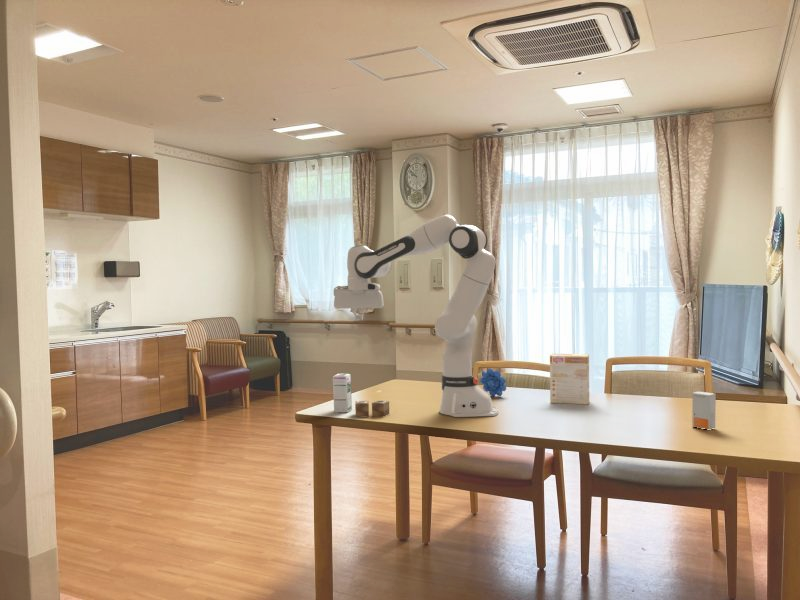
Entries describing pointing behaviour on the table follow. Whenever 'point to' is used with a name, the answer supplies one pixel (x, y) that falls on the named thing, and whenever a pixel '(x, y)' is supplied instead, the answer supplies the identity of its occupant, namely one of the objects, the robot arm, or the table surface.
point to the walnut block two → (380, 408)
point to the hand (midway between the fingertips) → (359, 319)
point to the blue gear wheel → (493, 382)
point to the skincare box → (703, 410)
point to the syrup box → (342, 392)
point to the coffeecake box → (569, 378)
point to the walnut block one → (362, 408)
